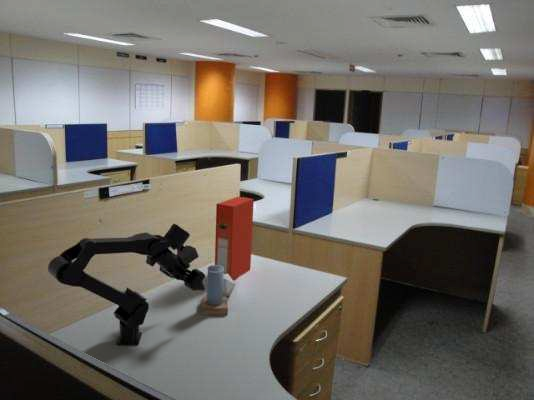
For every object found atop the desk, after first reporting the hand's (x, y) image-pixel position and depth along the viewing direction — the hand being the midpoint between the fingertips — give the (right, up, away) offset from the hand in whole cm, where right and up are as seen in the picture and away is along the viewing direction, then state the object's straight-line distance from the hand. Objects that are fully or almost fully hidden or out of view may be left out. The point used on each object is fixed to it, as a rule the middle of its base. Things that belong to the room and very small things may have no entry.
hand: (195, 284), depth 150 cm
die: (+7, -8, +19) cm, 22 cm away
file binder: (+9, -3, +40) cm, 42 cm away
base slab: (+5, -10, +8) cm, 14 cm away
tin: (+5, -8, +8) cm, 12 cm away
